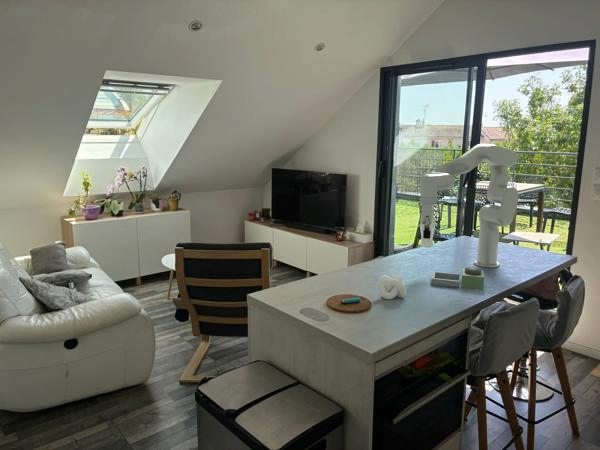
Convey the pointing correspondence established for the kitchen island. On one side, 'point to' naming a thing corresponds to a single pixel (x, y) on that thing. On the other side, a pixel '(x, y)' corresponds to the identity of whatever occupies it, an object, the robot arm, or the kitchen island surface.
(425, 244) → the beer glass
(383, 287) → the white knot sculpture
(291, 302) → the kitchen island surface
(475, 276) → the push button box
